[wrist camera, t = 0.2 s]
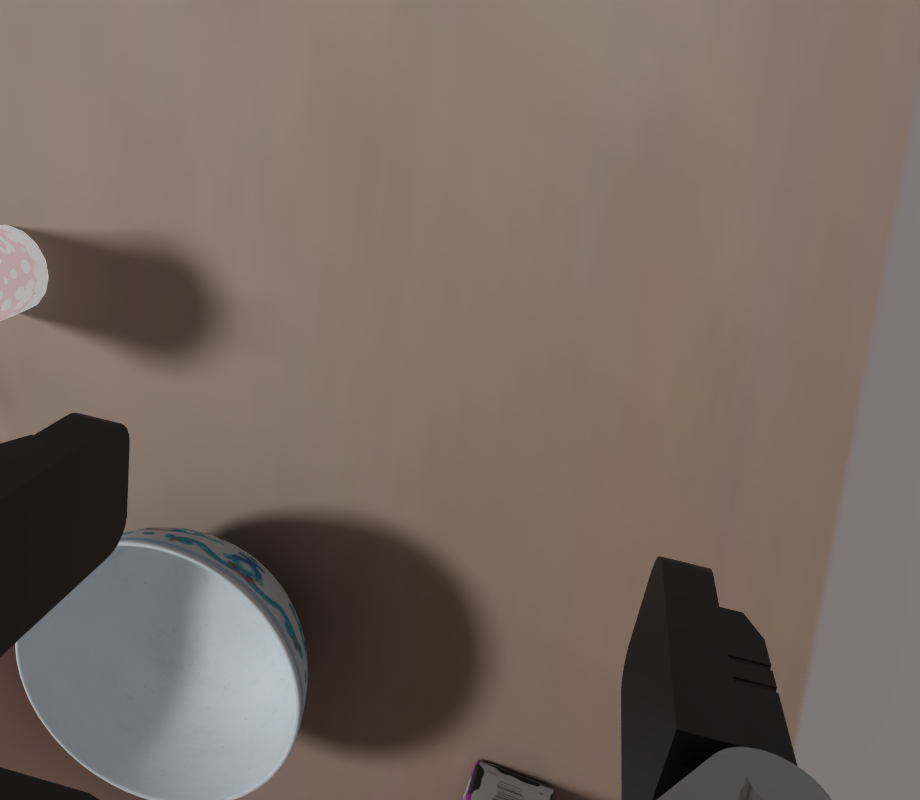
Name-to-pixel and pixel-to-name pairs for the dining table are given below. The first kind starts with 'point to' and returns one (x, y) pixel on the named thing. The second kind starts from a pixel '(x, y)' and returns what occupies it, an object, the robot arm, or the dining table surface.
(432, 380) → the dining table surface
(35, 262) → the beverage cup
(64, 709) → the chinaware
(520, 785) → the candy bar box
